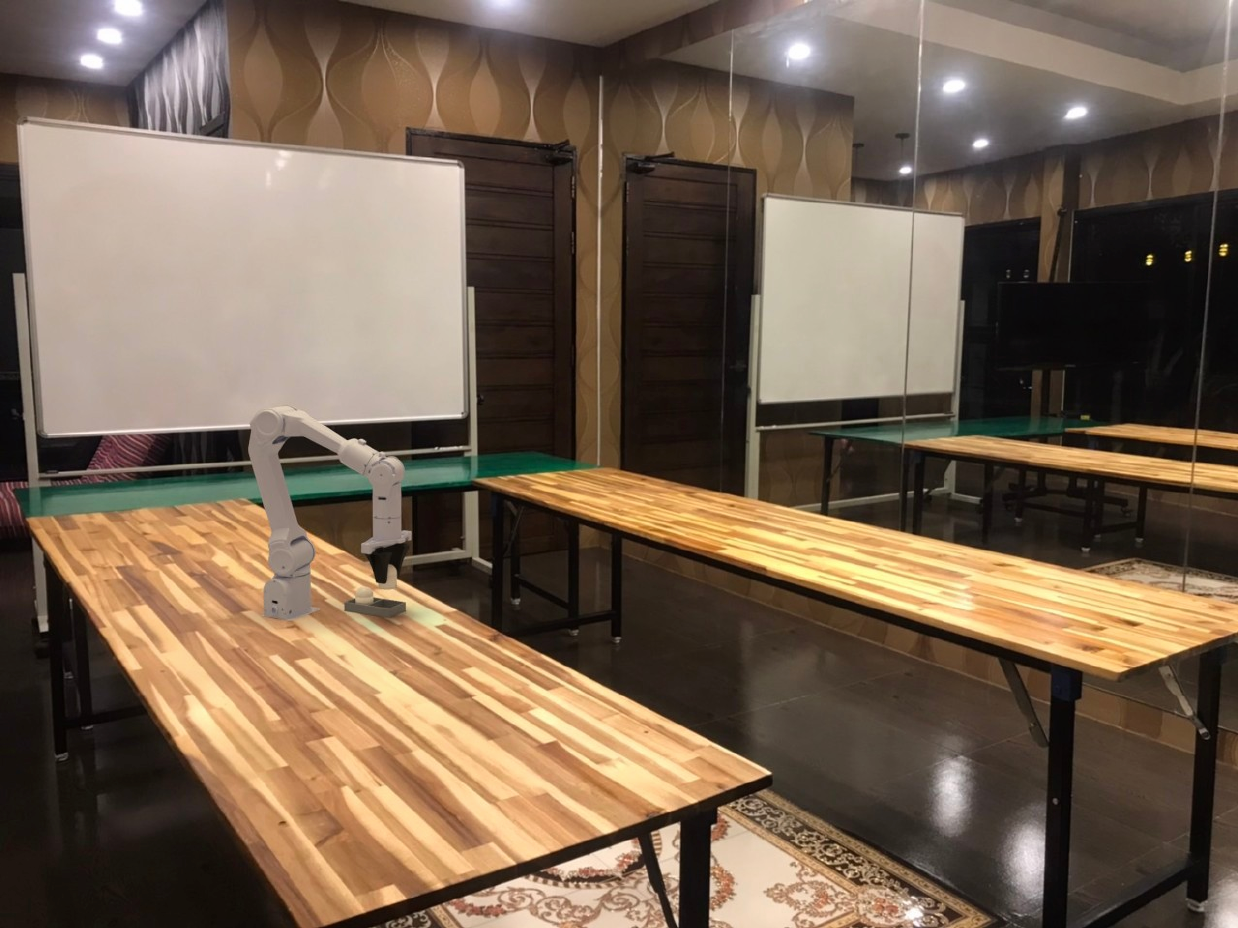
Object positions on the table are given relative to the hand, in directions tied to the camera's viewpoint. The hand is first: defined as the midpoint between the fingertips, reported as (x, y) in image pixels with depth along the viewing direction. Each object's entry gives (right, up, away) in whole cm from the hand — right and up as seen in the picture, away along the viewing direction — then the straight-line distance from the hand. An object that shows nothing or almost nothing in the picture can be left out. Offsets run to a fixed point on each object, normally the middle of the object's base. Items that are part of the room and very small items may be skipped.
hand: (387, 580), depth 195 cm
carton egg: (-7, -7, +6) cm, 12 cm away
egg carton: (-4, -8, +5) cm, 10 cm away
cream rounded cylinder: (0, -1, 0) cm, 1 cm away
